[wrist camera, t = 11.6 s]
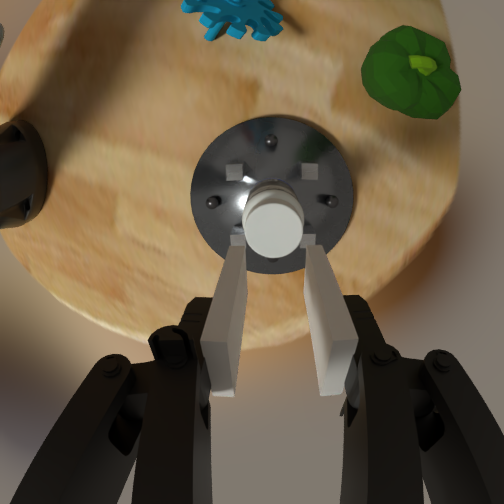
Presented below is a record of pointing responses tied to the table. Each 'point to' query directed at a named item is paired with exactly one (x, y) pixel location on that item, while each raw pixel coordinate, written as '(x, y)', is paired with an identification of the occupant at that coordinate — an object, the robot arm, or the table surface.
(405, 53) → the bell pepper
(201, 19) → the gear
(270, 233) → the pill bottle
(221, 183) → the hub
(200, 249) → the table surface
